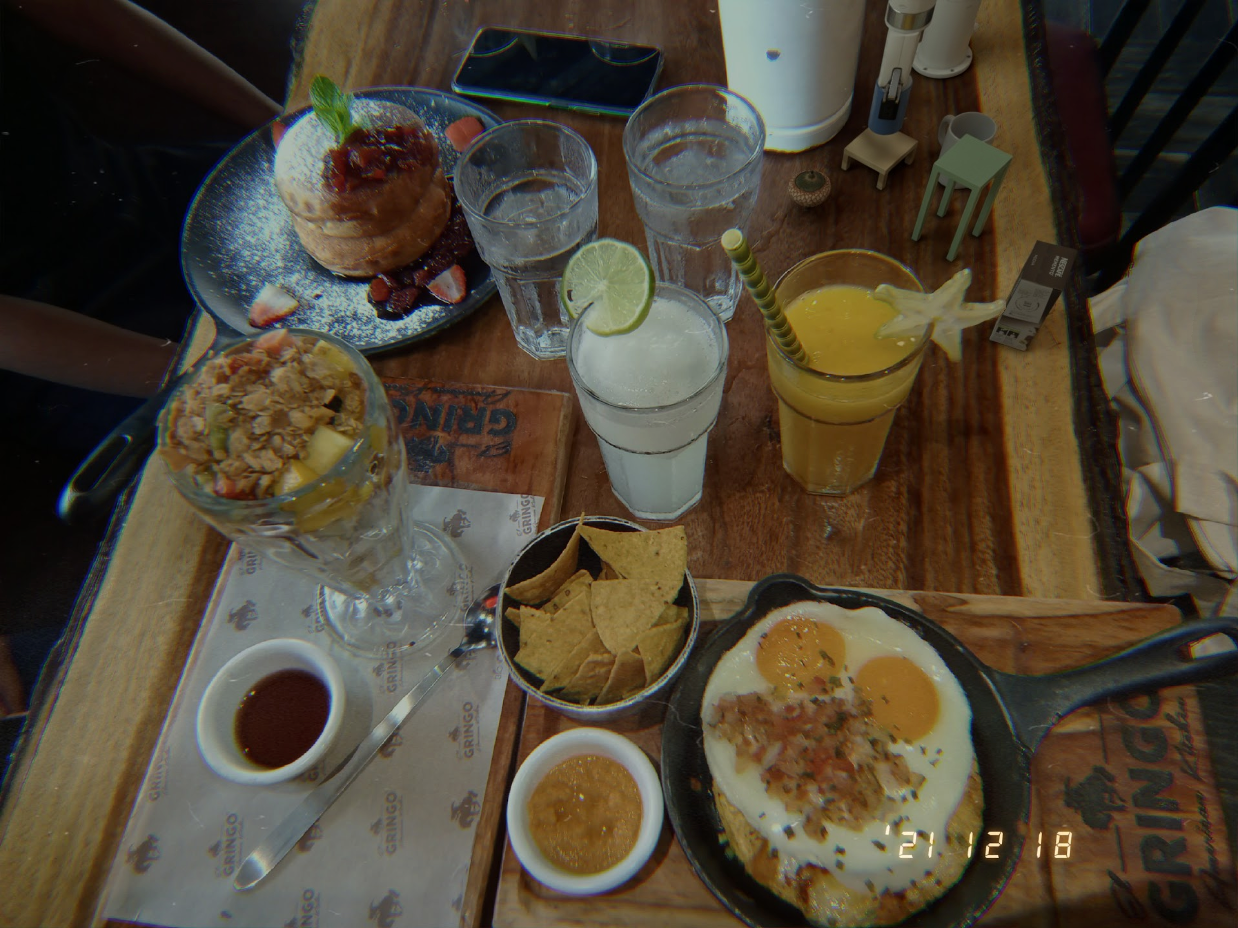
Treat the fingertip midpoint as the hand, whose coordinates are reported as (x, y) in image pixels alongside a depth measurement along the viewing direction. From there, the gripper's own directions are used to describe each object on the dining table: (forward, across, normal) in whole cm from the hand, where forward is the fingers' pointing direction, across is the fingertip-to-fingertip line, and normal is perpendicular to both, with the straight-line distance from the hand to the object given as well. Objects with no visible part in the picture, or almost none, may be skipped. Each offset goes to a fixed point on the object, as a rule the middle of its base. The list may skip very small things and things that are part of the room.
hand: (889, 104), depth 137 cm
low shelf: (+14, 0, 0) cm, 14 cm away
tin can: (+4, 0, 0) cm, 4 cm away
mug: (+14, -1, +14) cm, 20 cm away
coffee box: (+15, +36, +29) cm, 48 cm away
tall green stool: (+14, +17, +15) cm, 27 cm away
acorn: (+14, +14, -12) cm, 23 cm away
